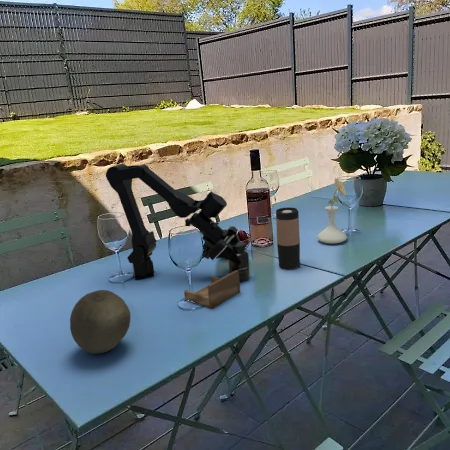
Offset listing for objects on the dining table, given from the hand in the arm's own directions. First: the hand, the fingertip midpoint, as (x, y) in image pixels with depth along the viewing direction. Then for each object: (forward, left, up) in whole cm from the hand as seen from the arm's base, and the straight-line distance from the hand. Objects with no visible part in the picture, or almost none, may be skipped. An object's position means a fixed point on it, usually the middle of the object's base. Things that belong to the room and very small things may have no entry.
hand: (242, 259), depth 140 cm
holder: (-13, -8, -7) cm, 17 cm away
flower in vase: (+45, +17, -7) cm, 48 cm away
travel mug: (+18, +2, -7) cm, 19 cm away
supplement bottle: (-1, +1, -7) cm, 7 cm away
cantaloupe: (-46, -24, -7) cm, 52 cm away
